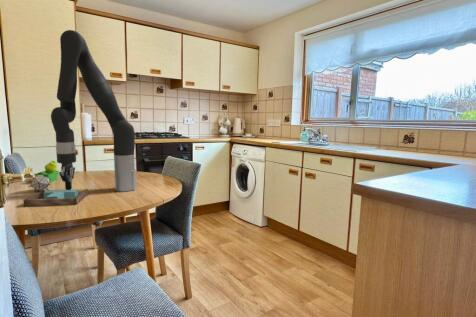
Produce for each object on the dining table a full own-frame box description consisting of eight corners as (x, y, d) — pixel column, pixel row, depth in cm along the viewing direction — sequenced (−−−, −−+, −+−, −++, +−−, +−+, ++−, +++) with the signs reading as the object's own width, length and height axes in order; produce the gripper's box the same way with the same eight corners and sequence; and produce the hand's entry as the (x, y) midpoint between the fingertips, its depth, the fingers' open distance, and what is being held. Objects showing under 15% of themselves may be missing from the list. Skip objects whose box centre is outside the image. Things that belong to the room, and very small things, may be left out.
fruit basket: (45, 179, 159) (44, 159, 158) (62, 179, 160) (61, 159, 159) (33, 184, 148) (31, 162, 146) (51, 183, 149) (50, 162, 147)
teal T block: (78, 196, 127) (77, 189, 127) (68, 203, 117) (68, 196, 116) (48, 197, 125) (47, 190, 125) (35, 204, 114) (35, 197, 114)
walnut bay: (88, 194, 130) (88, 189, 129) (76, 204, 115) (76, 198, 115) (42, 196, 126) (41, 190, 126) (23, 206, 111) (23, 200, 111)
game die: (37, 199, 133) (21, 185, 127) (40, 189, 140) (24, 175, 134) (56, 189, 135) (40, 175, 128) (57, 180, 141) (42, 165, 135)
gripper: (69, 153, 123) (72, 192, 126) (80, 150, 136) (82, 185, 139) (50, 154, 122) (53, 193, 124) (62, 150, 135) (65, 186, 137)
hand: (68, 189), depth 131 cm, fingers closed
